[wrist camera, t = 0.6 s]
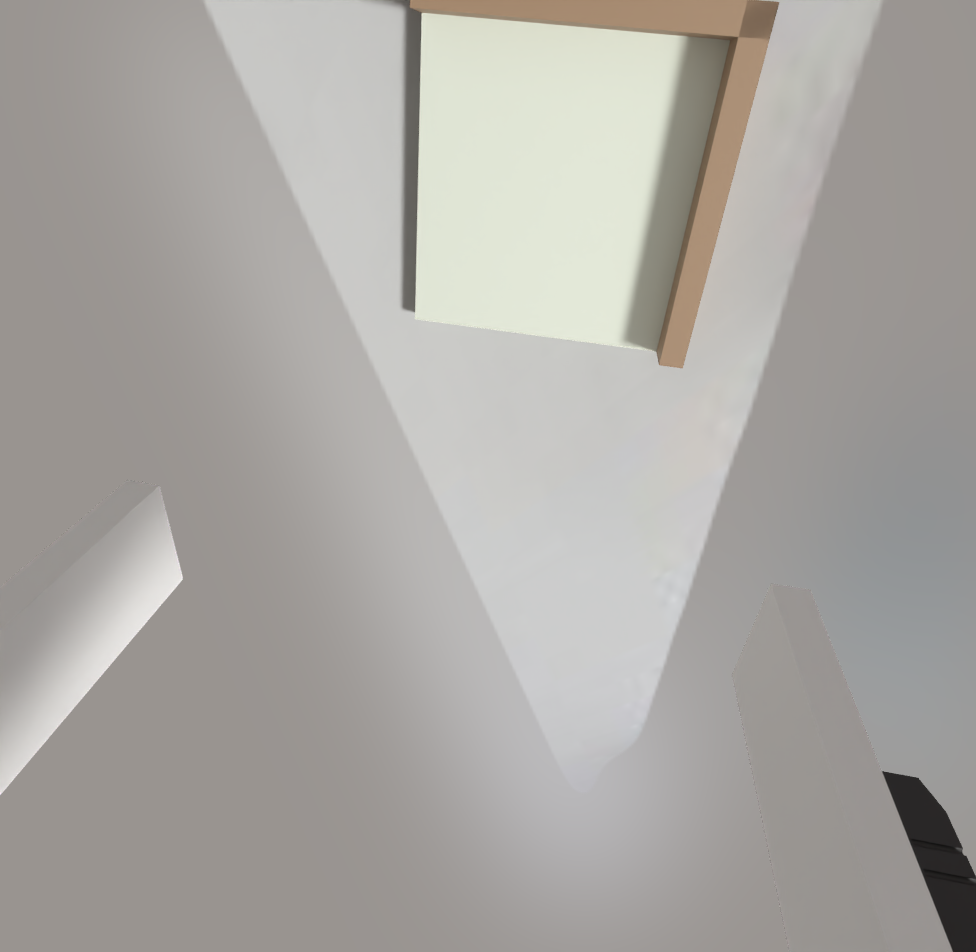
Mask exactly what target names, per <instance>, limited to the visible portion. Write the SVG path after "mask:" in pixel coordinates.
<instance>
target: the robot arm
mask: <svg viewBox="0 0 976 952" xmlns="http://www.w3.org/2000/svg"><path fill="white" fill-rule="evenodd" d="M182 579H183V577H182V573H181V569H180V565H179V561H178V557H177V553H176V549H175V545H174V541H173V537H172V533H171V529H170V525H169V521H168V518H167V513H166V509H165V505H164V502H163V498H162V494H161V490H160V486H159V485H154V484H148V483H142V482H135V481H129V480H127V481H125V482H124V483H123V484H122V485H121V486H119V487H118V488H117V489H116V490H115V491H113V492H112V493H111V494H110V495H109V496H108V497H106V498H105V499H104V500H103V501H102V502H100V503H99V504H98V505H97V506H96V507H95V508H93V509H92V510H91V511H90V512H88V513H87V514H86V515H85V516H84V517H83V518H81V519H80V520H79V521H78V522H77V523H75V524H74V525H73V526H72V527H71V528H70V529H68V530H67V531H66V532H65V533H63V534H62V535H61V536H60V537H59V538H58V539H56V540H55V541H54V542H53V543H52V544H50V545H49V546H48V547H47V548H46V549H44V550H43V551H42V552H41V553H40V554H38V555H37V556H36V557H35V558H34V559H33V560H31V561H30V562H29V563H28V564H27V565H25V566H24V567H23V568H22V569H21V570H19V571H18V572H17V573H16V574H15V575H13V576H12V577H11V578H10V579H9V580H8V581H6V582H5V583H4V584H3V585H2V586H1V587H0V795H1V794H2V792H3V791H4V790H5V789H6V788H7V786H8V785H9V784H10V783H11V782H12V781H13V779H14V778H15V777H16V776H17V775H18V773H19V772H20V771H21V770H22V768H23V767H24V766H25V765H26V764H27V763H28V762H29V760H30V759H31V758H32V757H33V756H34V754H35V753H36V752H37V751H38V750H39V749H40V747H41V746H42V745H43V744H44V743H45V741H46V740H47V739H48V738H49V737H50V736H51V734H52V733H53V732H54V731H55V730H56V728H57V727H58V726H59V725H60V724H61V723H62V721H63V720H64V719H65V718H66V717H67V715H68V714H69V713H70V712H71V711H72V710H73V708H74V707H75V706H76V705H77V703H78V702H79V701H80V700H81V699H82V698H83V696H84V695H85V694H86V693H87V692H88V691H89V689H90V688H91V687H92V686H93V685H94V683H95V682H96V681H97V680H98V679H99V678H100V676H101V675H102V674H103V673H104V672H105V670H106V669H107V668H108V667H109V665H111V663H112V662H113V661H114V660H115V659H116V657H117V656H118V655H119V654H120V653H121V652H122V650H123V649H124V648H125V647H126V646H127V644H128V643H129V642H130V641H131V640H132V638H133V637H134V636H135V635H136V634H137V633H138V631H139V630H140V629H141V628H142V627H143V626H144V624H145V623H146V622H147V621H148V620H149V618H150V617H151V616H152V615H153V614H154V613H155V611H156V610H157V609H158V608H159V607H160V605H161V604H162V603H163V602H164V601H165V600H166V598H167V597H168V596H169V595H170V594H171V592H172V591H173V590H174V589H175V588H176V586H177V585H178V584H179V583H180V582H181V581H182ZM732 677H733V682H734V687H735V692H736V697H737V702H738V706H739V711H740V716H741V721H742V725H743V730H744V736H745V740H746V745H747V750H748V755H749V760H750V765H751V769H752V774H753V779H754V784H755V789H756V794H757V799H758V803H759V808H760V813H761V818H762V823H763V827H764V832H765V837H766V842H767V847H768V852H769V857H770V861H771V866H772V871H773V875H774V880H775V886H776V891H777V895H778V900H779V905H780V910H781V915H782V920H783V925H784V929H785V934H786V939H787V944H788V949H789V952H976V876H975V874H974V872H973V870H972V867H971V866H970V863H969V861H968V859H967V857H966V856H964V855H963V853H962V849H963V848H962V846H961V843H960V841H959V839H958V837H957V835H956V833H955V830H954V828H953V826H952V824H951V822H950V819H949V817H948V815H947V813H946V811H945V810H944V809H943V808H942V806H941V805H940V804H939V803H938V802H937V800H936V799H935V798H934V797H933V796H932V794H931V793H930V792H929V791H928V789H927V788H926V787H925V786H924V785H923V783H922V782H921V781H920V780H919V778H916V777H910V776H905V775H899V774H894V773H889V772H883V771H881V768H880V765H879V763H878V760H877V758H876V755H875V753H874V750H873V748H872V745H871V742H870V740H869V737H868V735H867V732H866V730H865V727H864V725H863V722H862V720H861V717H860V714H859V712H858V709H857V707H856V705H855V702H854V699H853V697H852V694H851V692H850V689H849V687H848V684H847V682H846V679H845V676H844V674H843V671H842V669H841V666H840V664H839V661H838V659H837V656H836V653H835V651H834V649H833V646H832V643H831V641H830V638H829V636H828V633H827V631H826V628H825V626H824V623H823V620H822V618H821V615H820V613H819V610H818V608H817V605H816V603H815V600H814V598H813V595H812V593H811V590H809V589H802V588H796V587H790V586H783V585H778V584H771V585H770V587H769V590H768V592H767V594H766V596H765V599H764V601H763V603H762V606H761V608H760V610H759V613H758V615H757V618H756V620H755V622H754V624H753V627H752V629H751V631H750V634H749V636H748V638H747V641H746V643H745V645H744V648H743V650H742V652H741V655H740V657H739V659H738V662H737V664H736V666H735V668H734V671H733V673H732Z"/></svg>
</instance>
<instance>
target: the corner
mask: <svg viewBox="0 0 976 952" xmlns="http://www.w3.org/2000/svg"><path fill="white" fill-rule="evenodd" d="M778 5H779V2H771V1H759V0H410V8H412V9H414V10H416V11H419V12H421V13H422V20H421V66H420V112H419V158H418V204H417V250H416V297H415V319H417V320H425V321H432V322H440V323H447V324H455V325H462V326H470V327H477V328H484V329H492V330H499V331H507V332H514V333H522V334H529V335H537V336H544V337H551V338H559V339H566V340H574V341H581V342H589V343H596V344H604V345H611V346H618V347H626V348H633V349H641V350H648V351H656V352H657V357H658V362H659V365H662V366H670V367H677V368H683V365H684V361H685V357H686V353H687V350H688V346H689V342H690V338H691V335H692V331H693V327H694V323H695V319H696V316H697V312H698V308H699V304H700V300H701V297H702V293H703V289H704V285H705V282H706V278H707V274H708V270H709V266H710V263H711V259H712V255H713V251H714V247H715V244H716V240H717V236H718V232H719V228H720V225H721V221H722V217H723V213H724V210H725V206H726V202H727V198H728V194H729V191H730V187H731V183H732V179H733V175H734V172H735V168H736V164H737V160H738V157H739V153H740V149H741V145H742V141H743V138H744V134H745V130H746V126H747V122H748V119H749V115H750V111H751V107H752V103H753V100H754V96H755V92H756V88H757V85H758V81H759V77H760V73H761V69H762V66H763V62H764V58H765V54H766V50H767V47H768V43H769V39H770V35H771V32H772V28H773V24H774V20H775V16H776V13H777V9H778Z"/></svg>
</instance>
